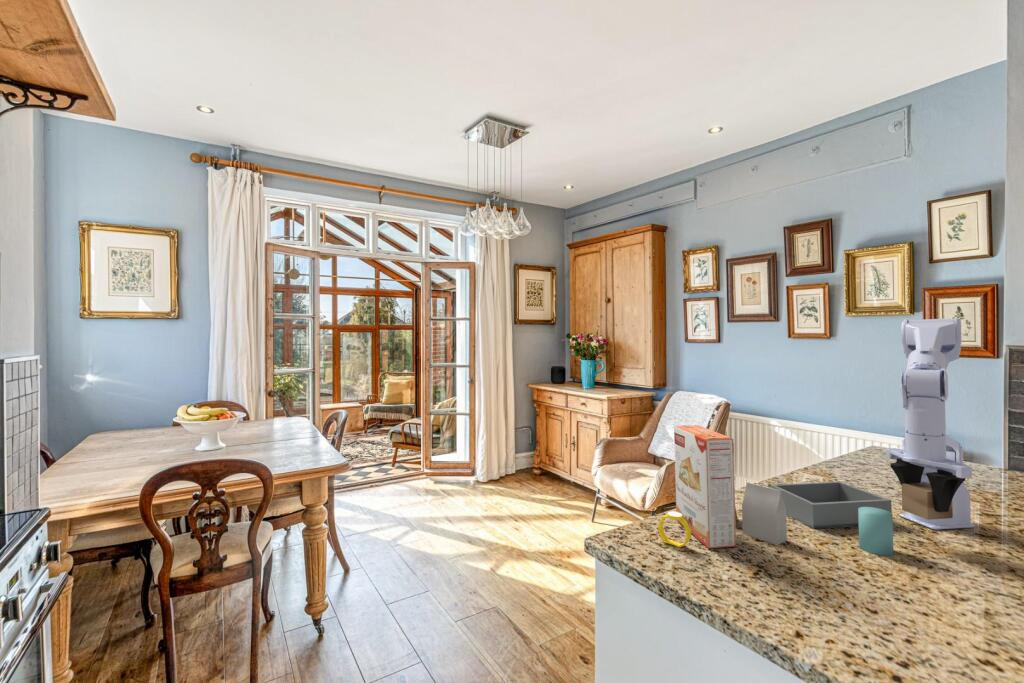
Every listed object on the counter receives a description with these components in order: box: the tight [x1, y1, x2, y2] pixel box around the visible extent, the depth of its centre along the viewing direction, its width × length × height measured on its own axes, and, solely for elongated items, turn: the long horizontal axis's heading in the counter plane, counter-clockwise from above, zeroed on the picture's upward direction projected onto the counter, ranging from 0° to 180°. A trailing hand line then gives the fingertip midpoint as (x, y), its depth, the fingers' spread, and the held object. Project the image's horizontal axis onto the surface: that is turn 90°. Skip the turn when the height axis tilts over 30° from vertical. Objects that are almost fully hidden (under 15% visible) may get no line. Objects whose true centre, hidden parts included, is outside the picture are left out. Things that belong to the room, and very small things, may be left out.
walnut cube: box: [901, 483, 953, 520], centre depth 88 cm, size 5×5×5 cm
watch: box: [657, 511, 692, 548], centre depth 90 cm, size 6×3×6 cm, turn 46°
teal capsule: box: [858, 507, 894, 557], centre depth 86 cm, size 5×5×7 cm
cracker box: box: [673, 424, 737, 549], centre depth 95 cm, size 14×6×21 cm, turn 5°
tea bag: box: [741, 482, 788, 546], centre depth 93 cm, size 4×7×10 cm, turn 33°
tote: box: [769, 480, 893, 530], centre depth 104 cm, size 18×14×5 cm
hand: (926, 506), depth 88 cm, fingers closed on walnut cube, 5 cm apart
